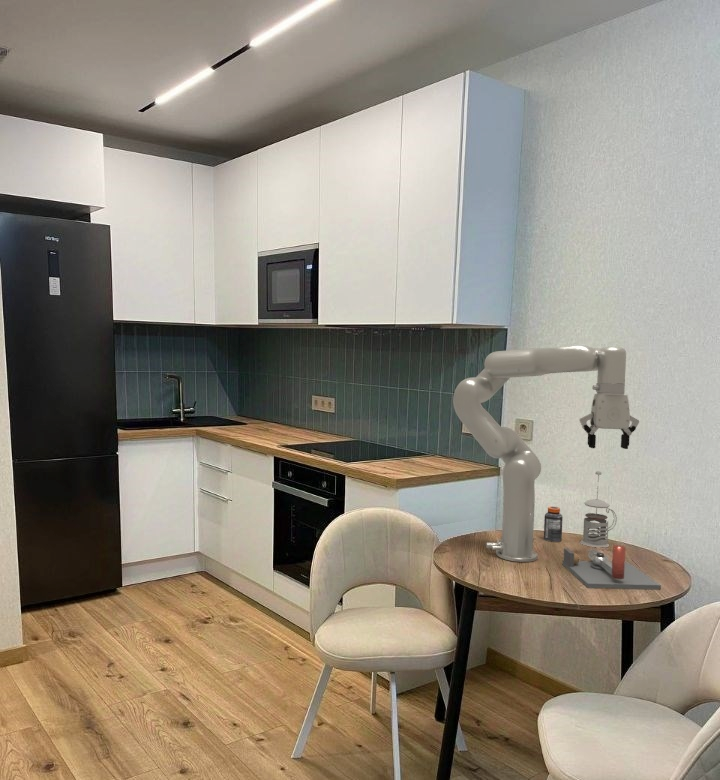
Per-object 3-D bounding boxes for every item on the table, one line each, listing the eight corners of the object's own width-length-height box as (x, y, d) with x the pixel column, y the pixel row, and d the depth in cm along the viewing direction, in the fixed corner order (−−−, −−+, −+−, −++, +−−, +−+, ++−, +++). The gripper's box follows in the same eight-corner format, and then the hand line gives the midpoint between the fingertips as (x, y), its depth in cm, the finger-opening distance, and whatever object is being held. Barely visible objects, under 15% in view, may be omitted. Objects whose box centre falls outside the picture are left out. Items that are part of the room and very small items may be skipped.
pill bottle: (549, 536, 223) (550, 504, 223) (564, 540, 219) (566, 507, 218) (540, 539, 219) (541, 506, 218) (556, 543, 215) (557, 510, 214)
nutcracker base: (587, 587, 172) (588, 568, 172) (562, 564, 192) (563, 547, 192) (660, 589, 172) (661, 570, 172) (627, 565, 192) (628, 548, 192)
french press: (575, 539, 220) (578, 468, 219) (607, 540, 221) (611, 469, 219) (586, 548, 210) (590, 473, 209) (620, 548, 211) (624, 474, 210)
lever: (612, 579, 172) (613, 547, 172) (585, 557, 192) (586, 529, 191) (628, 579, 172) (629, 548, 172) (599, 558, 192) (601, 529, 191)
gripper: (586, 389, 181) (584, 449, 182) (646, 391, 182) (643, 450, 182) (576, 388, 188) (574, 445, 189) (633, 389, 189) (631, 447, 190)
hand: (608, 448), depth 186 cm, fingers open, 9 cm apart
